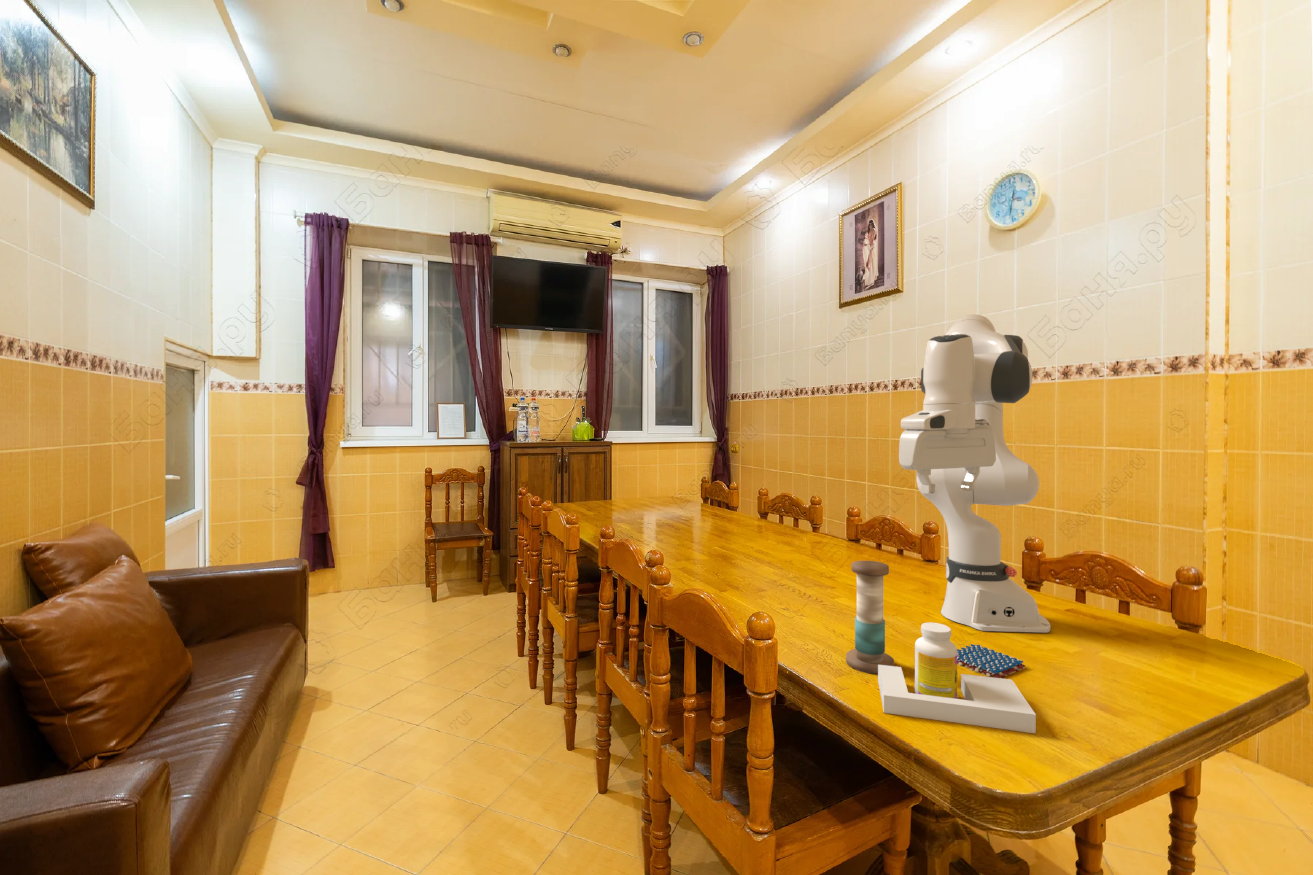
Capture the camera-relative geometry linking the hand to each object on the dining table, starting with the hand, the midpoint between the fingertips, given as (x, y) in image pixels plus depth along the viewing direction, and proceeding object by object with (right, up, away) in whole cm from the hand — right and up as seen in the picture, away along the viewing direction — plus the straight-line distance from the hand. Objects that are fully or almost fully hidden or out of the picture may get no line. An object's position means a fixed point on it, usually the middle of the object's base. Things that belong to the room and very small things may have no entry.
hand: (948, 491), depth 106 cm
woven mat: (+10, -36, +5) cm, 37 cm away
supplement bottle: (-7, -36, -9) cm, 38 cm away
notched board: (-5, -36, -11) cm, 37 cm away
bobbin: (-13, -35, +5) cm, 38 cm away
